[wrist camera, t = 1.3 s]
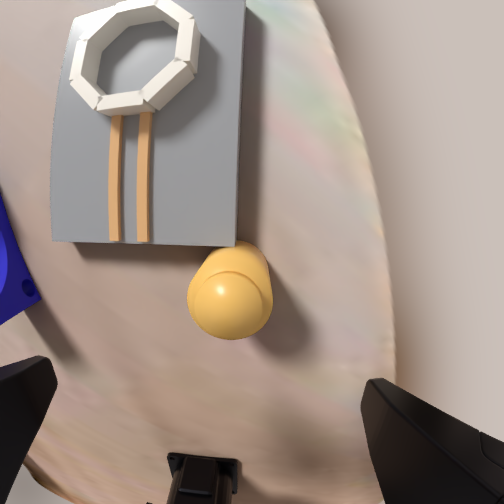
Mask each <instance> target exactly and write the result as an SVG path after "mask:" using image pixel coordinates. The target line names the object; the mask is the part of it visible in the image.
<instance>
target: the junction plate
mask: <svg viewBox="0 0 504 504" xmlns="http://www.w3.org/2000/svg"><path fill="white" fill-rule="evenodd" d="M245 16H246V0H129V1H125V2H121V3H117V4H116V6H112V7H110V8H106V9H102V10H99V11H95V12H92V13H89V14H86V15H82V16H79V17H76V18H74V21H73V24H72V28H71V31H70V35H69V39H68V43H67V47H66V51H65V55H64V60H63V65H62V69H61V75H60V80H59V86H58V92H57V99H56V106H55V114H54V123H53V133H52V147H51V168H50V208H51V229H52V241H59V242H96V243H130V244H164V245H196V246H226V247H235V244H236V241H237V212H238V178H239V148H240V121H241V97H242V75H243V54H244V34H245Z"/></svg>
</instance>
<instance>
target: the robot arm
mask: <svg viewBox="0 0 504 504" xmlns="http://www.w3.org/2000/svg"><path fill="white" fill-rule="evenodd" d="M57 385H58V382H57V378H56V375H55V372H54V369H53V366H52V363H51V361H50V359H49V358H47V357H43V356H39V355H38V356H34V357H31V358H28V359H25V360H22V361H19V362H15V363H12V364H9V365H6V366H3V367H0V504H5V502H6V500H7V497H8V495H9V493H10V490H11V488H12V485H13V483H14V481H15V478H16V476H17V474H18V472H19V470H20V467H21V465H22V463H23V461H24V459H25V457H26V455H27V453H28V451H29V448H30V446H31V444H32V442H33V440H34V438H35V436H36V434H37V433H38V431H39V429H40V427H41V424H42V422H43V420H44V417H45V415H46V412H47V410H48V408H49V405H50V403H51V400H52V398H53V396H54V393H55V391H56V389H57ZM361 414H362V418H363V423H364V428H365V433H366V438H367V443H368V448H369V453H370V457H371V460H372V463H373V466H374V469H375V472H376V476H377V479H378V482H379V485H380V488H381V491H382V494H383V498H384V501H385V504H504V442H502V441H500V440H498V439H495V438H493V437H491V436H489V435H487V434H485V433H483V432H479V430H477V429H475V428H473V427H471V426H470V425H467V424H466V423H464V422H462V421H460V420H458V419H456V418H454V417H452V416H451V415H449V414H447V413H445V412H443V411H441V410H439V409H437V408H436V407H434V406H432V405H430V404H428V403H427V402H425V401H423V400H421V399H419V398H417V397H416V396H414V395H412V394H410V393H409V392H407V391H405V390H403V389H401V388H400V387H398V386H396V385H394V384H393V383H391V382H389V381H387V380H386V379H384V378H375V379H369V380H368V381H367V383H366V386H365V390H364V393H363V397H362V401H361ZM167 459H168V463H169V467H170V471H171V474H172V478H173V480H172V484H171V488H170V492H169V496H168V500H167V504H231V500H232V494H236V493H237V461H236V460H235V459H226V458H213V457H202V456H193V455H185V454H178V453H168V456H167ZM146 504H152V503H148V502H147V503H146Z"/></svg>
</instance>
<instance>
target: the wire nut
mask: <svg viewBox="0 0 504 504" xmlns="http://www.w3.org/2000/svg"><path fill="white" fill-rule="evenodd" d="M187 303H188V308H189V312H190V314H191V316H192V318H193V320H194V321H195V322H196V324H197V325H198V326H199V327H200V328H201V329H203V330H204V331H205V332H207V333H208V334H210V335H212V336H214V337H217V338H221V339H227V340H237V339H242V338H246V337H248V336H251V335H253V334H254V333H256V332H257V331H259V330H260V329H261V328H262V327H263V326H264V325H265V323H266V322H267V321H268V319H269V317H270V314H271V311H272V307H273V296H272V289H271V283H270V276H269V269H268V264H267V261H266V259H265V257H264V255H263V254H262V252H261V251H260V250H259V249H258V248H257V247H255V246H254V245H252V244H250V243H248V242H245V241H240V240H237V241H236V244H235V247H226V246H216V247H215V248H214V249H213V250H212V251H211V252H210V254H209V255H208V257H207V258H206V260H205V261H204V263H203V264H202V266H201V267H200V269H199V270H198V272H197V273H196V275H195V276H194V278H193V279H192V281H191V283H190V285H189V289H188V294H187Z"/></svg>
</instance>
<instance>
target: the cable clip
mask: <svg viewBox="0 0 504 504" xmlns="http://www.w3.org/2000/svg"><path fill="white" fill-rule="evenodd" d="M39 300H41V297H40V295H39V293H38V291H37V289H36V287H35V285H34V283H33V280H32V278H31V276H30V274H29V272H28V269H27V267H26V265H25V262H24V260H23V257H22V255H21V252H20V250H19V247H18V245H17V242H16V239H15V237H14V234H13V231H12V228H11V226H10V223H9V220H8V217H7V214H6V210H5V207H4V204H3V201H2V197H1V194H0V325H1V324H3V323H4V322H6V321H7V320H9V319H11V318H12V317H14V316H15V315H17V314H18V313H20V312H22V311H23V310H25V309H26V308H28V307H29V306H31V305H33V304H34V303H36V302H38V301H39Z"/></svg>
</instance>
